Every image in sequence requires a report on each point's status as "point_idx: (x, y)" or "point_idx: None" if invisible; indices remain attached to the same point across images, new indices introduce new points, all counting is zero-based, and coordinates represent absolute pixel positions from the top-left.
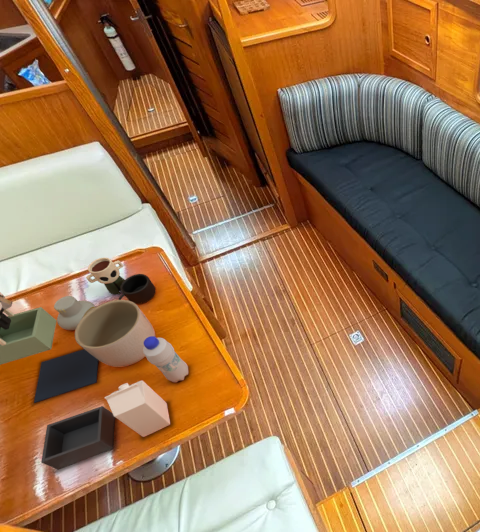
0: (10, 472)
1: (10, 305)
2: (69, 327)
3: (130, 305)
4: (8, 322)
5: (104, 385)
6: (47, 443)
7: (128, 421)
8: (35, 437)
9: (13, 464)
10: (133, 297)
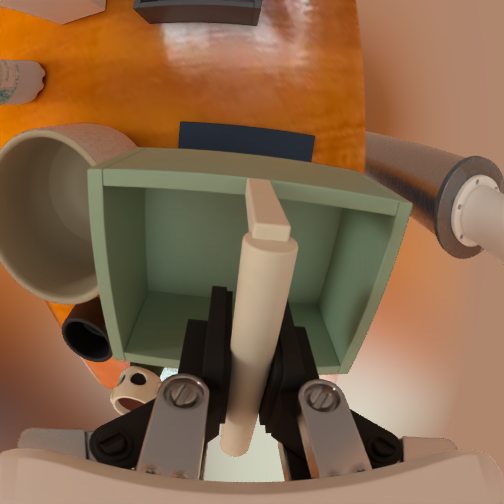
0: (350, 7)
1: (21, 437)
2: None
3: (22, 267)
4: (188, 328)
5: (165, 106)
6: None
7: None
8: (311, 48)
9: (347, 18)
10: (91, 312)
